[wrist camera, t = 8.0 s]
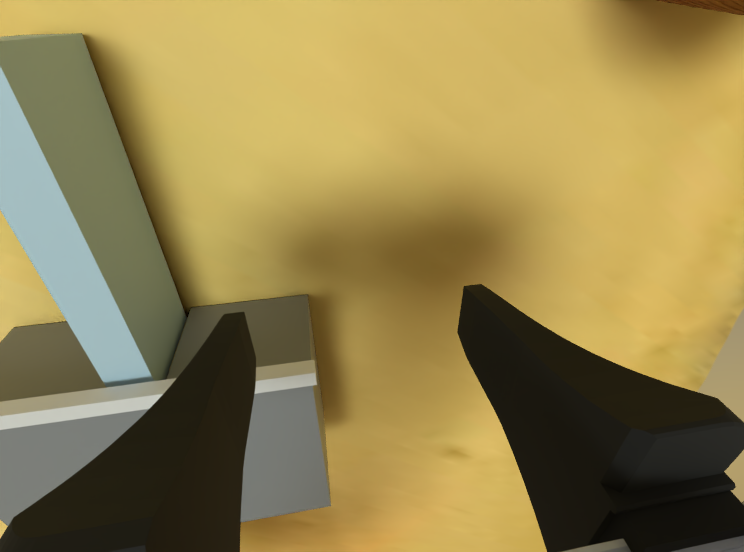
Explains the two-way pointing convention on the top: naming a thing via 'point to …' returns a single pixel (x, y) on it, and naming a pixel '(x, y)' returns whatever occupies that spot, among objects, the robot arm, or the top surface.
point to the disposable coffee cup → (714, 5)
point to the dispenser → (130, 402)
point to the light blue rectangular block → (83, 209)
